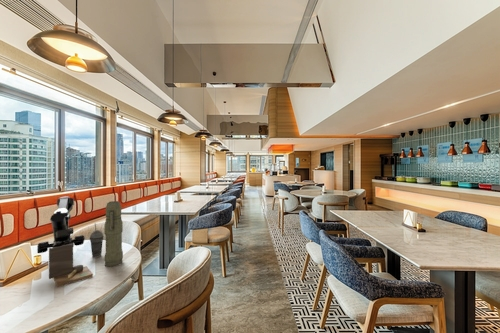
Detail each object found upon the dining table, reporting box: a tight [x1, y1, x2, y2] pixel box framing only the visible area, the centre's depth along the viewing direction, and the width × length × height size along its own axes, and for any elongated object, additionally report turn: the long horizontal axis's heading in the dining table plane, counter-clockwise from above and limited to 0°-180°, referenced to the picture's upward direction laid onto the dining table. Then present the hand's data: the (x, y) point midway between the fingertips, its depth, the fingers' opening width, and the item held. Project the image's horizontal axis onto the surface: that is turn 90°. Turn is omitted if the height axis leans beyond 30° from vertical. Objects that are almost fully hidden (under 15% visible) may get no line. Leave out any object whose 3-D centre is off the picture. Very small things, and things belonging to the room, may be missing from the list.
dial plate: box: [53, 266, 94, 288], centre depth 112 cm, size 13×14×2 cm
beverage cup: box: [89, 223, 105, 258], centre depth 140 cm, size 7×7×20 cm
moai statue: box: [103, 200, 124, 268], centre depth 129 cm, size 9×12×35 cm
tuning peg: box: [48, 244, 84, 280], centre depth 111 cm, size 9×13×14 cm
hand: (63, 258), depth 115 cm, fingers closed
